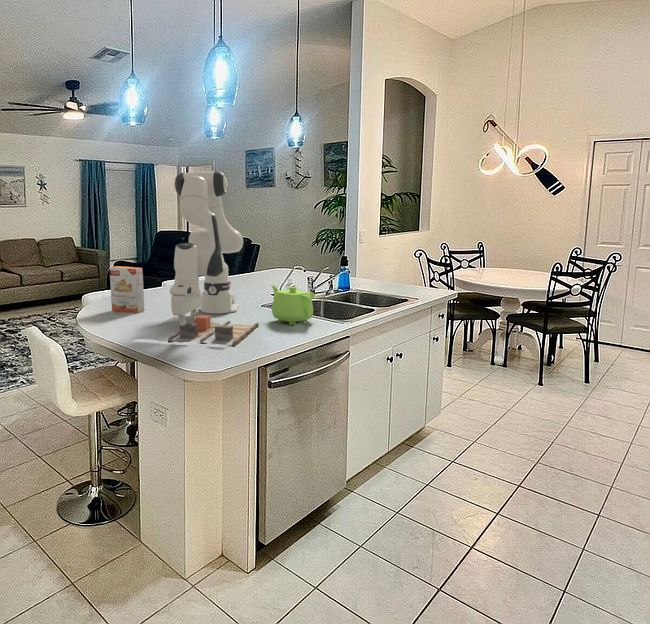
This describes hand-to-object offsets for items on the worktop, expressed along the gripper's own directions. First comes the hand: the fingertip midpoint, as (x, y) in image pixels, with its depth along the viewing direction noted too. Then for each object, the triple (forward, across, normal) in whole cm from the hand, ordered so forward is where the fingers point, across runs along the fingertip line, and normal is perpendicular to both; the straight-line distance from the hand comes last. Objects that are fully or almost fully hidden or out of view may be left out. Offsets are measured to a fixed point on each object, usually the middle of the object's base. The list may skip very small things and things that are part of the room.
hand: (188, 322), depth 208 cm
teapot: (+7, -44, +32) cm, 55 cm away
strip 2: (+7, -12, +14) cm, 19 cm away
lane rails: (+7, -12, +7) cm, 15 cm away
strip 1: (+7, -12, 0) cm, 13 cm away
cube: (+6, -14, 0) cm, 16 cm away
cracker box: (+7, -43, -48) cm, 65 cm away
